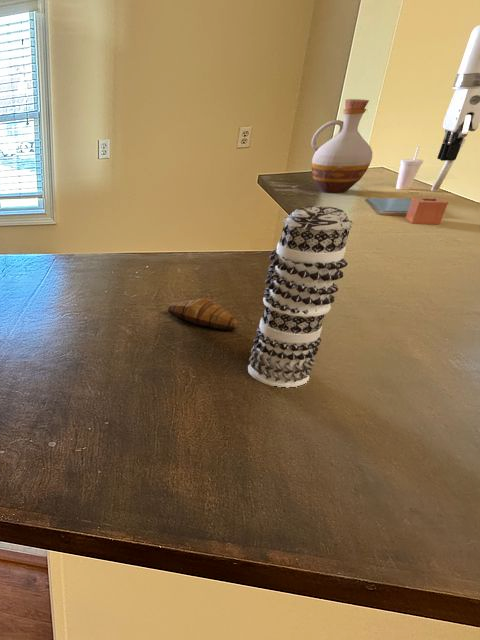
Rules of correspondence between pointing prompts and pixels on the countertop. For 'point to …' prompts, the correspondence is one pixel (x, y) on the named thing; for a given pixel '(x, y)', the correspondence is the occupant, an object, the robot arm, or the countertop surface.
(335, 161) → the jug
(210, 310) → the croissant
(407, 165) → the smoothie
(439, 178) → the stylus
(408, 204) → the tablet
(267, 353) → the decorative candle
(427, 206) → the pen stand
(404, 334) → the countertop surface
